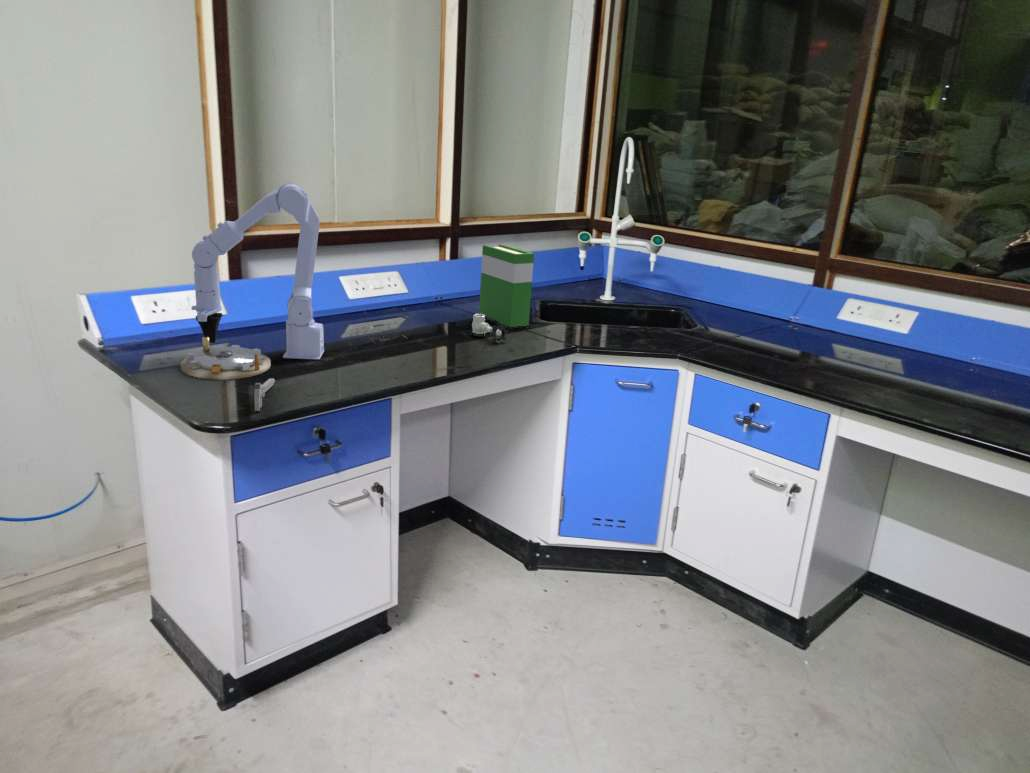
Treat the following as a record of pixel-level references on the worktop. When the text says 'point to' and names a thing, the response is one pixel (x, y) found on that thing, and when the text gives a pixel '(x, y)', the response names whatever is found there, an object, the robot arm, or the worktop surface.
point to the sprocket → (223, 358)
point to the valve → (488, 328)
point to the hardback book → (506, 284)
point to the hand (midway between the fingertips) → (210, 342)
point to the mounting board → (228, 374)
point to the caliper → (261, 392)
